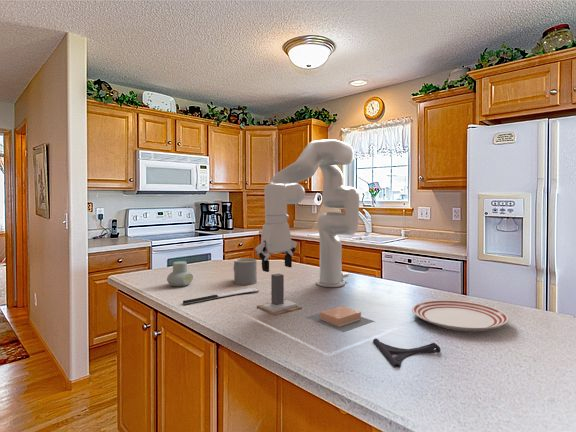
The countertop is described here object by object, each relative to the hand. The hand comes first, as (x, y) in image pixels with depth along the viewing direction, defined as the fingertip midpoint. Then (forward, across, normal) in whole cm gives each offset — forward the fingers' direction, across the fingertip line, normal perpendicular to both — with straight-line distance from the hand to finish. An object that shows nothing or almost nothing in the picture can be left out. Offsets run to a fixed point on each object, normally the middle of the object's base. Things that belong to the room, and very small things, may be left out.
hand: (277, 269), depth 128 cm
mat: (+14, -7, +23) cm, 28 cm away
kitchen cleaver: (+14, +8, -26) cm, 31 cm away
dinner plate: (+15, -36, +46) cm, 60 cm away
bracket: (+14, -4, +50) cm, 52 cm away
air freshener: (+14, +14, -52) cm, 56 cm away
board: (+14, +1, +2) cm, 14 cm away
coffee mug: (+15, -11, -40) cm, 44 cm away
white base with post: (+13, +1, +3) cm, 13 cm away
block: (+12, -7, +19) cm, 24 cm away
